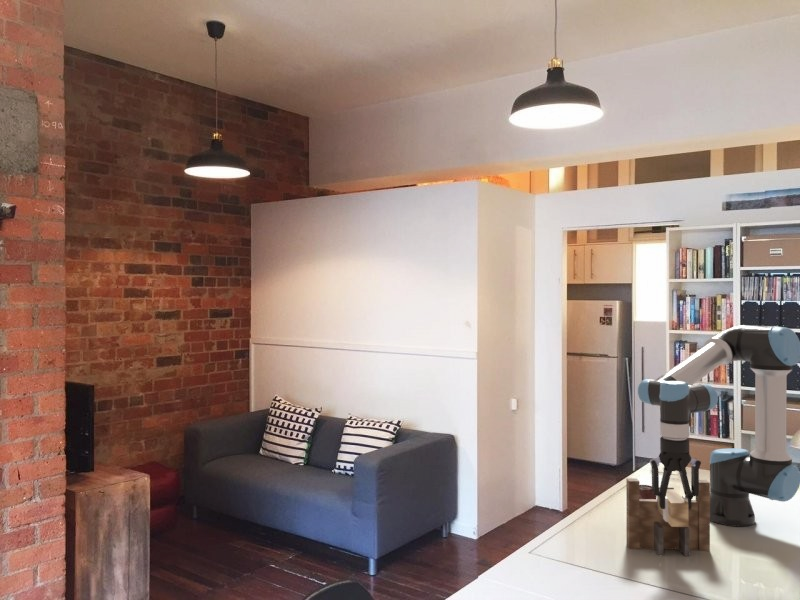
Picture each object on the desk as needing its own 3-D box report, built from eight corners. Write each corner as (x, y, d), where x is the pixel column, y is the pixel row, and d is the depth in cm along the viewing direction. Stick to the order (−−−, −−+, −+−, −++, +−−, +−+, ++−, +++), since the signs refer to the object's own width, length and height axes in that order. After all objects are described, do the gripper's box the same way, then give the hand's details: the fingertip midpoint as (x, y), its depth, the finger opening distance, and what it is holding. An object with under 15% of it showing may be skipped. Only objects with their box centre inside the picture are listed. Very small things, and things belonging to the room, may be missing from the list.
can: (658, 535, 207) (658, 490, 207) (636, 533, 209) (636, 489, 208) (654, 528, 213) (654, 484, 213) (633, 526, 215) (633, 483, 214)
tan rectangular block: (673, 510, 195) (673, 487, 195) (688, 526, 182) (688, 502, 182) (657, 510, 196) (657, 487, 195) (671, 526, 182) (671, 501, 182)
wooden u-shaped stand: (706, 546, 198) (706, 479, 197) (715, 556, 190) (715, 487, 190) (626, 544, 200) (626, 478, 199) (633, 554, 192) (632, 485, 192)
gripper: (702, 434, 188) (703, 516, 189) (638, 434, 190) (639, 515, 191) (712, 440, 181) (713, 525, 182) (645, 440, 183) (646, 524, 183)
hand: (675, 520), depth 186 cm, fingers closed on tan rectangular block, 4 cm apart
